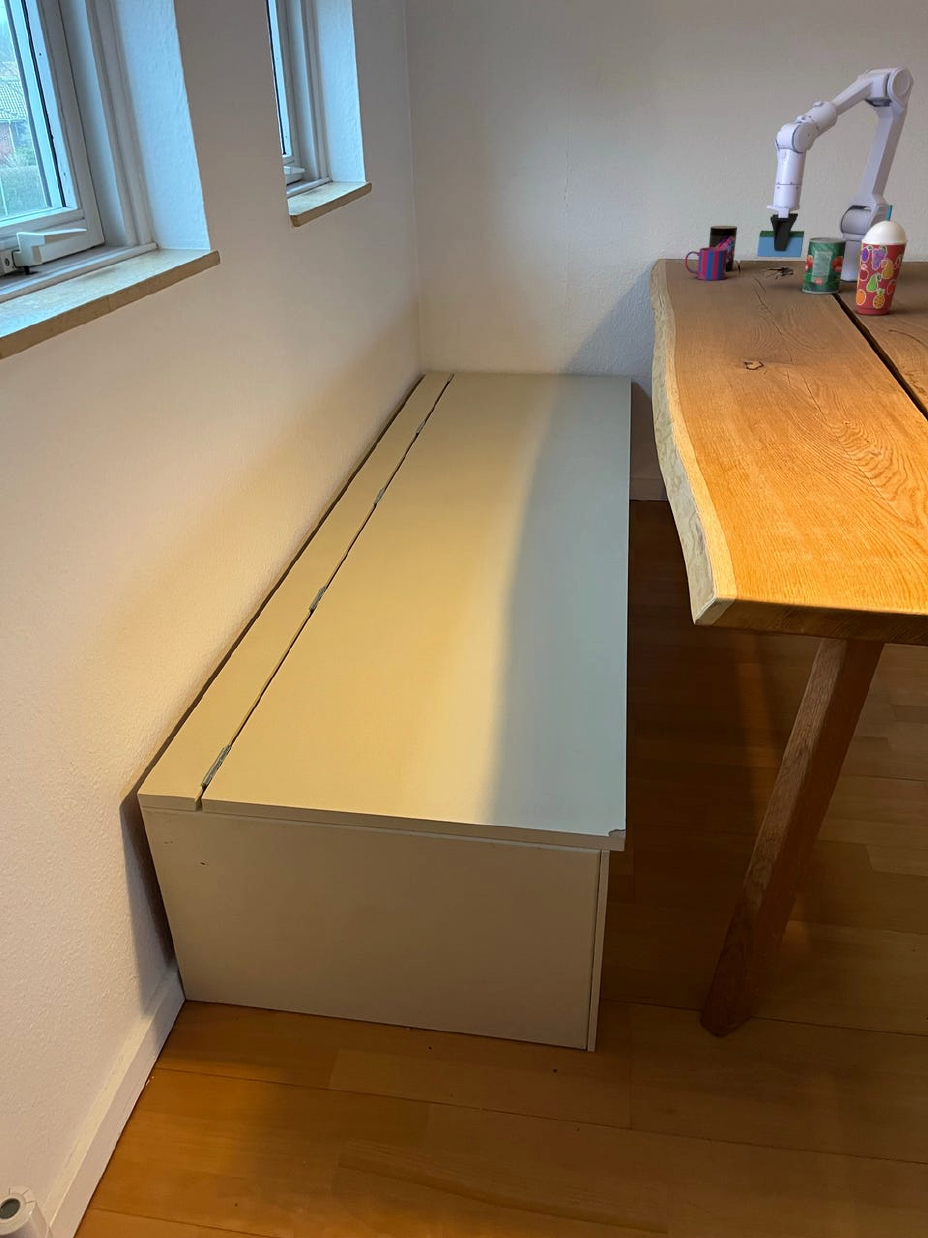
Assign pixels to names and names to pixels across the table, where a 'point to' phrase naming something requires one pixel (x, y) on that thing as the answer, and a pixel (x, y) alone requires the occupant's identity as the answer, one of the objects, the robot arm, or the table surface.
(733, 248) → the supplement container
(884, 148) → the robot arm
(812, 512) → the table surface
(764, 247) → the sponge
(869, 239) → the smoothie
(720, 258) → the mug
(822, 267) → the canned tomato
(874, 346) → the table surface
